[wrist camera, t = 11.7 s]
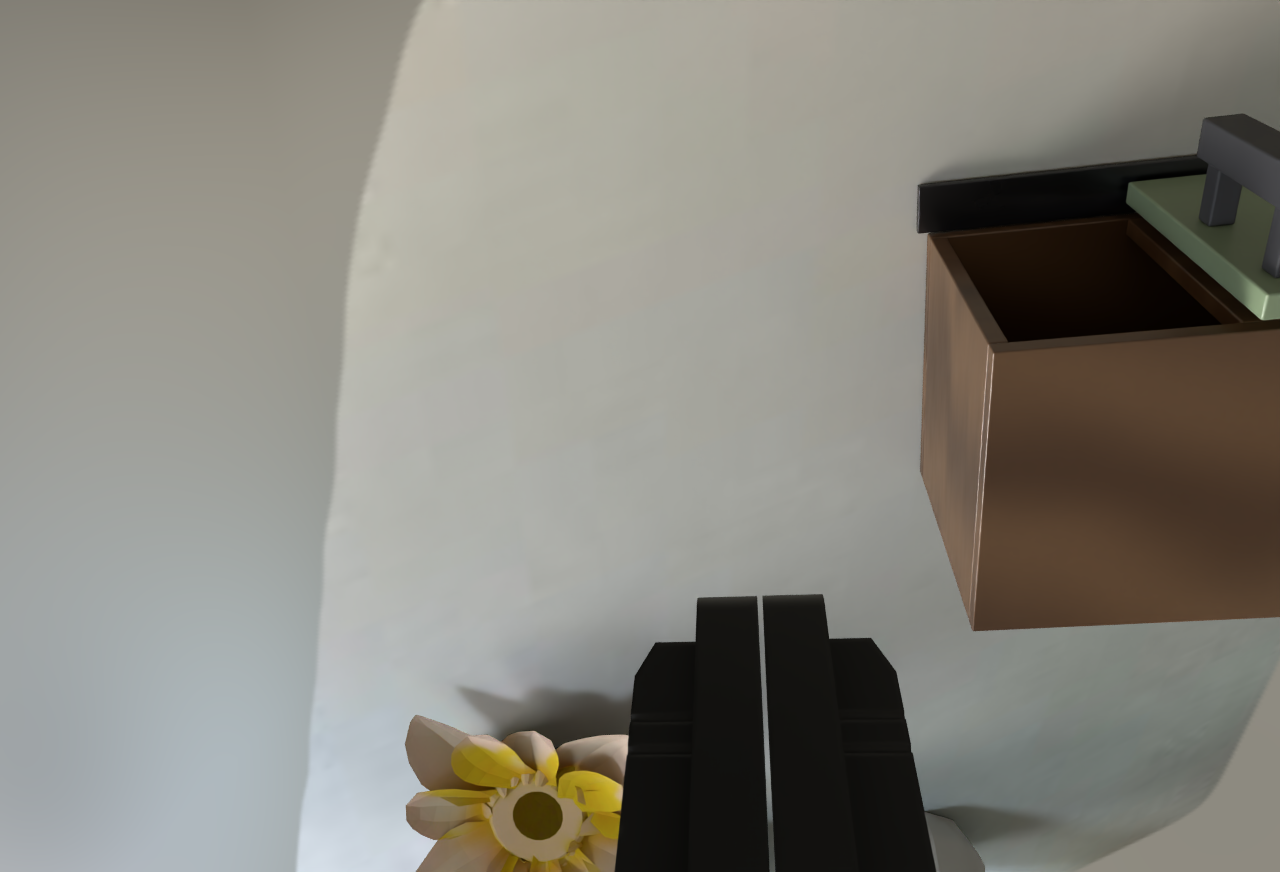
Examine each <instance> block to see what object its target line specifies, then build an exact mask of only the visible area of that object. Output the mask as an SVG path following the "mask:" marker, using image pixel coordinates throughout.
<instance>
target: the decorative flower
mask: <svg viewBox="0 0 1280 872" xmlns="http://www.w3.org/2000/svg"><path fill="white" fill-rule="evenodd" d="M628 737H629V736H627V735H600V736H594V737H588V738H583V739H579V740H575V741H572V742H568V743H564V744H563V745H561V746H560V747H559V748H557V749H556V750H555V748H554V746H553V744H552V742H551V740H549V739H547V738H546V737H544V736H542V735H540V734H539V733H537V732H535V731H524V732H516V733H513V734H510V735H508V736H507V737H506V738H505V739H504V740H502V742H500V741H498V740H497V739H495V738H493V737H491V736H489V735H475V736H471V735H469V734H467V733H464V732H462V731H460V730H457V729H455V728H453V727H450V726H448V725H445V724H443V723H440V722H437V721H434V720H431V719H428V718H425V717H422V716H419V715H415V716H414V718H413V719H412V720H411V722H410V725H409V730H408V734H407V738H406V742H405V747H406V751H407V756H408V760H409V764H410V766H411V767H412V769H413V771H414V772H415V774H416V776H417V778H418V779H419V781H420V783H421V784H422V785H423V786H424V787H426V788H427V789H429V790H430V791H427V792H420V793H417V794H416V795H415V796H414V797H413V798H412V799H411V801H410V802H409V803H408V804H407V805H406V820H407V822H408V823H409V824H410V826H411V827H412V829H414V830H415V831H417V832H418V833H420V834H421V835H423V836H426V837H428V838H430V839H433V840H438V841H437V842H436V844H435V845H434V846H433V848H432V849H431V851H430V852H429V853H428V855H427V856H426V858H425V859H424V861H423V862H422V863H421V865H420V866H419V868H418V869H417V871H416V872H615V863H616V853H617V843H618V834H619V824H620V814H621V805H622V795H623V785H624V776H625V766H626V756H627V755H628Z"/></svg>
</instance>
